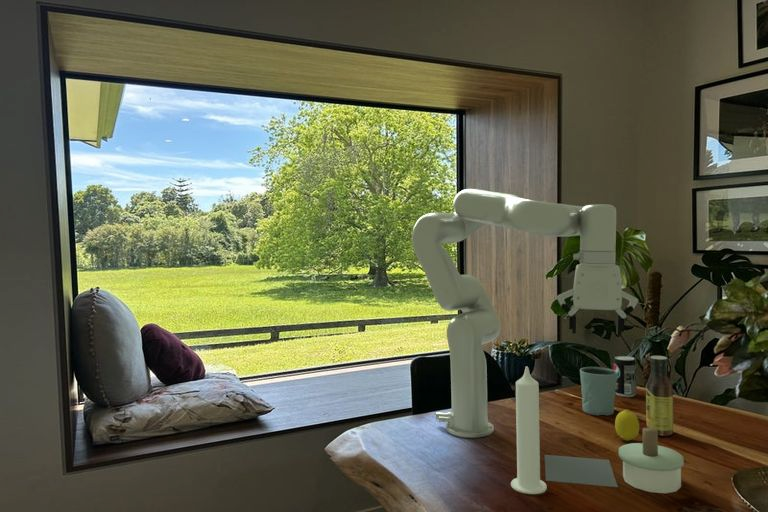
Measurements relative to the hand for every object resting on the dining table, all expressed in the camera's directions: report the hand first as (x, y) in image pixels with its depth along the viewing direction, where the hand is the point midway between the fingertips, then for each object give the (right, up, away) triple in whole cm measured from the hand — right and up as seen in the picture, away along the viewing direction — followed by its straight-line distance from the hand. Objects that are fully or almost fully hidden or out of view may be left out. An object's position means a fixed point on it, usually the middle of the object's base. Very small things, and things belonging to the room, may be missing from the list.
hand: (595, 333), depth 123 cm
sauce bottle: (+23, -28, +16) cm, 40 cm away
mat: (-6, -29, -6) cm, 30 cm away
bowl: (+7, -29, -12) cm, 32 cm away
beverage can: (+30, -27, +51) cm, 65 cm away
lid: (+7, -24, -12) cm, 28 cm away
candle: (-19, -30, -13) cm, 38 cm away
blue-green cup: (+15, -28, +35) cm, 47 cm away
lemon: (+12, -29, +11) cm, 33 cm away
